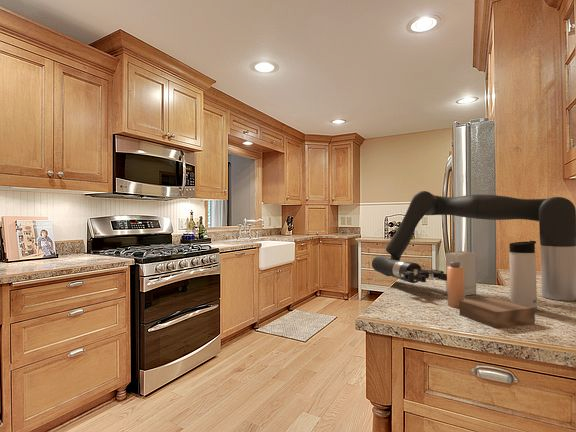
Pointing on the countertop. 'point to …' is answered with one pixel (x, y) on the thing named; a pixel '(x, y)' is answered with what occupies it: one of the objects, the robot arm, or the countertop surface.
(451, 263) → the orange bottle
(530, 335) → the countertop surface
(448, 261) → the skincare box
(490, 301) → the walnut plinth
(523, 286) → the travel mug
